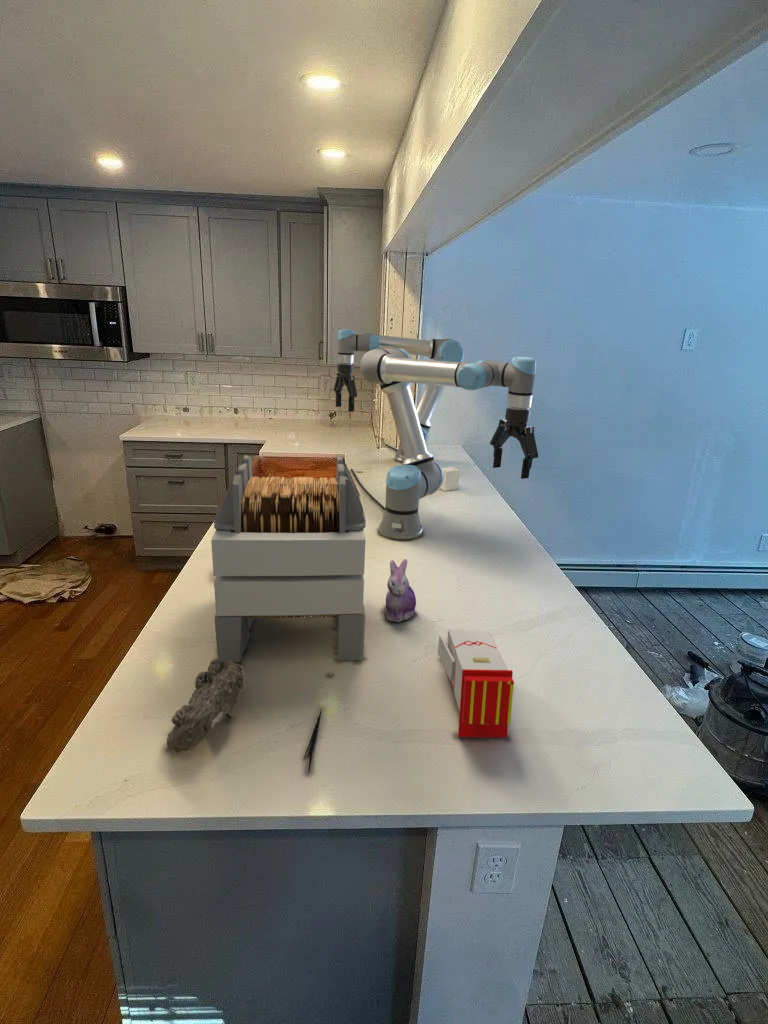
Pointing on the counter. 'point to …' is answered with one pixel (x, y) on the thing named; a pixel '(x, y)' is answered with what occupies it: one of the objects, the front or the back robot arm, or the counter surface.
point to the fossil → (206, 705)
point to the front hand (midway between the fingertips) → (510, 472)
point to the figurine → (399, 594)
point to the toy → (478, 682)
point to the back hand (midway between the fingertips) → (344, 409)
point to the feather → (313, 740)
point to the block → (450, 478)
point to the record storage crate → (289, 556)
